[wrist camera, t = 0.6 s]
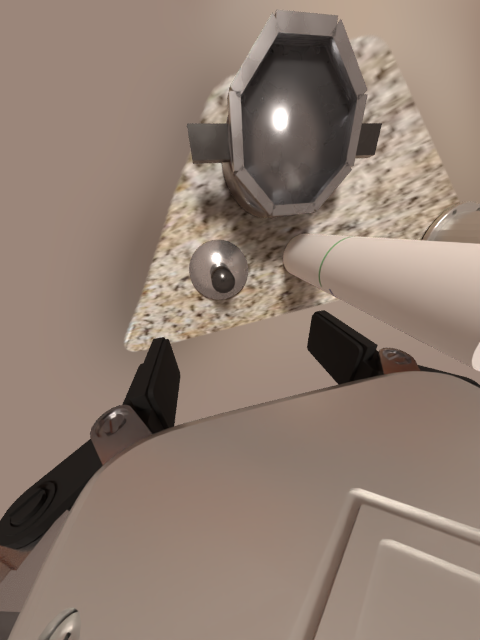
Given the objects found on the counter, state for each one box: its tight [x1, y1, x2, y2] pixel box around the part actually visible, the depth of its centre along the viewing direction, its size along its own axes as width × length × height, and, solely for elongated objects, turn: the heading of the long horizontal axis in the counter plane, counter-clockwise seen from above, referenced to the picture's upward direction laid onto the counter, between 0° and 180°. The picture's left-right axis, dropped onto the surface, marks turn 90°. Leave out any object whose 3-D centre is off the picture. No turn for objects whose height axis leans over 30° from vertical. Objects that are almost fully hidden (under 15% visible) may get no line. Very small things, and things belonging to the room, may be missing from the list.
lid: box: [189, 240, 248, 300], centre depth 26 cm, size 10×10×7 cm
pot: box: [187, 10, 382, 218], centre depth 20 cm, size 21×14×8 cm, turn 94°
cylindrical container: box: [283, 233, 480, 371], centre depth 20 cm, size 7×7×25 cm
